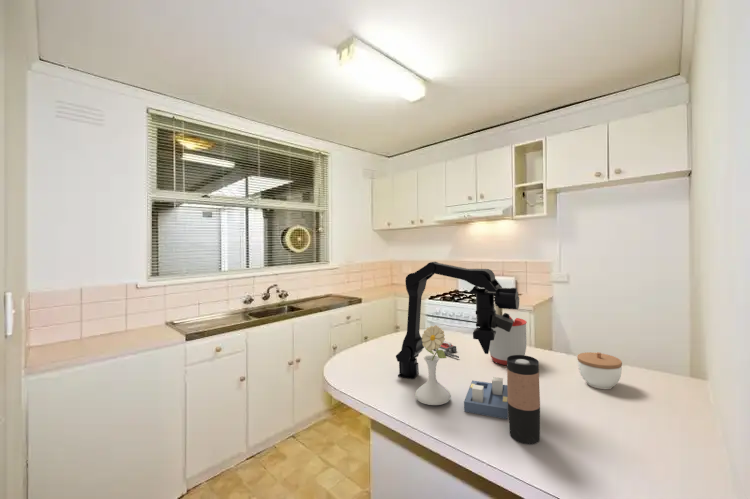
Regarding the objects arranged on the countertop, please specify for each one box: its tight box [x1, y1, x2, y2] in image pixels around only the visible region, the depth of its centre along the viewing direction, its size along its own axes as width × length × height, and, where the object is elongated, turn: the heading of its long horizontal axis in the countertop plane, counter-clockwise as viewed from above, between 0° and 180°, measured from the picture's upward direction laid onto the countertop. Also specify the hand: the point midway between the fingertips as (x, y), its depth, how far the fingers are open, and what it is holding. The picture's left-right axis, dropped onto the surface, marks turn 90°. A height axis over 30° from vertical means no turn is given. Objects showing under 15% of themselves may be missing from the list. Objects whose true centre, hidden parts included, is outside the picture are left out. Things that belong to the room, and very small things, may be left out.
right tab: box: [491, 376, 504, 395], centre depth 107 cm, size 3×3×4 cm
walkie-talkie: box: [433, 340, 460, 359], centre depth 152 cm, size 9×4×20 cm
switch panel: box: [463, 380, 509, 420], centre depth 104 cm, size 12×16×3 cm
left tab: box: [472, 385, 484, 403], centre depth 102 cm, size 3×3×4 cm
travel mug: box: [506, 354, 541, 445], centre depth 86 cm, size 8×8×20 cm
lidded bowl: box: [576, 352, 623, 390], centre depth 113 cm, size 13×13×11 cm
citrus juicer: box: [489, 316, 528, 366], centre depth 139 cm, size 16×17×20 cm
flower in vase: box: [414, 325, 452, 406], centre depth 106 cm, size 13×11×25 cm
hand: (486, 353), depth 111 cm, fingers closed
